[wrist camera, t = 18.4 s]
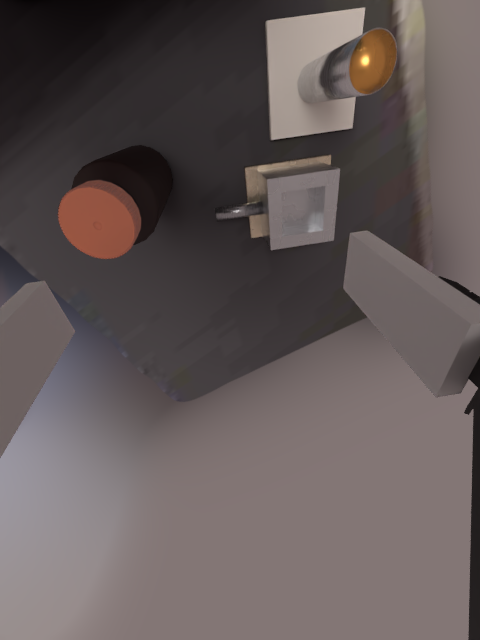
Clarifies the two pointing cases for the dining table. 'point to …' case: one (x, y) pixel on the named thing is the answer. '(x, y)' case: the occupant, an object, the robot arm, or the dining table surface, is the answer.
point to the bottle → (116, 201)
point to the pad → (290, 58)
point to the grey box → (289, 201)
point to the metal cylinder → (350, 68)
